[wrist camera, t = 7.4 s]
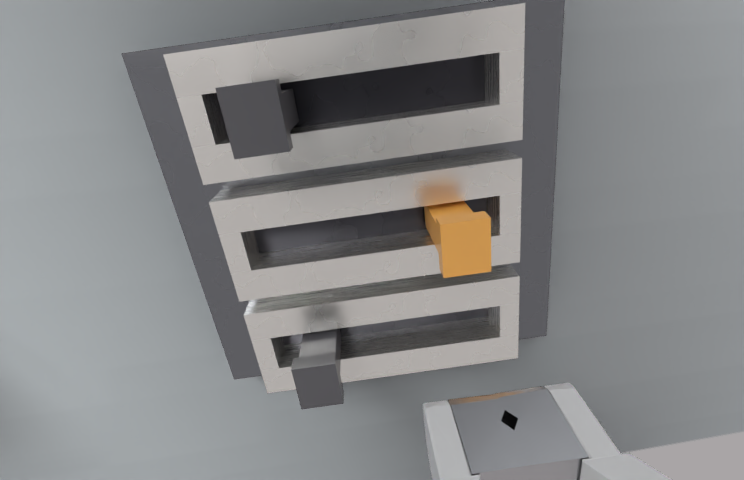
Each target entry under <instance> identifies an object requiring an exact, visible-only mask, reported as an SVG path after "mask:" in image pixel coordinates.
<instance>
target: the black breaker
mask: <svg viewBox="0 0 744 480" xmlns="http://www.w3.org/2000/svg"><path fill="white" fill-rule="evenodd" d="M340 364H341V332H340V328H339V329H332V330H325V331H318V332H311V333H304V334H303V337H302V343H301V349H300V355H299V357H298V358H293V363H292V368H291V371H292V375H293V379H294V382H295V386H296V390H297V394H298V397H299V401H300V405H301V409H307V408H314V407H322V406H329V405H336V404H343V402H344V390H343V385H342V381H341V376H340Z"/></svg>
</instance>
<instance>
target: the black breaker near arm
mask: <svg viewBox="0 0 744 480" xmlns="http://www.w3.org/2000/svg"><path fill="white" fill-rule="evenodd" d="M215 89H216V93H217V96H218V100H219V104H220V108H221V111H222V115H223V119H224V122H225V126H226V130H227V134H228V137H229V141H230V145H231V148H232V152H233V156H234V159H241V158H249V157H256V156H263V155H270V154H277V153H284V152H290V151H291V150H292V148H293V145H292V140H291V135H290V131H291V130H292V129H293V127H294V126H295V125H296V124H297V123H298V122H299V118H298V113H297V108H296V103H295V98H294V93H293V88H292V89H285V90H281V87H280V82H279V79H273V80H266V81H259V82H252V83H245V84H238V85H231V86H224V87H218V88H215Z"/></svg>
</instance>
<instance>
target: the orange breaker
mask: <svg viewBox="0 0 744 480" xmlns="http://www.w3.org/2000/svg"><path fill="white" fill-rule="evenodd" d="M424 213H425V225H426V228H427V230H428V232H429V234H430V236H431V239H432V241H433V243H434V245H435V247H436V249H437V251H438V254H439V268H440V271H441V274H442V276H443V278H449V277H456V276H463V275H471V274H478V273H485V272H491V217H490V216H489V215H488V214H487V213H486V212H485V211H480V212H473V211H472V210H471V209H470V208H469V206H468V205H467V204H466V203H465V202H464V201H458V202H451V203H444V204H437V205H430V206H424Z"/></svg>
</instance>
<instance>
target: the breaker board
mask: <svg viewBox="0 0 744 480" xmlns="http://www.w3.org/2000/svg"><path fill="white" fill-rule="evenodd" d="M563 18H564V0H494V1H487V2H480V3H473V4H466V5H459V6H452V7H445V8H438V9H431V10H424V11H417V12H410V13H403V14H396V15H389V16H382V17H375V18H368V19H361V20H354V21H347V22H340V23H333V24H326V25H319V26H312V27H305V28H298V29H291V30H284V31H277V32H270V33H263V34H256V35H249V36H242V37H235V38H228V39H221V40H214V41H207V42H200V43H193V44H185V45H178V46H171V47H164V48H157V49H150V50H143V51H136V52H129V53H122V57H123V59H124V62H125V65H126V68H127V71H128V74H129V77H130V80H131V83H132V85H133V88H134V91H135V94H136V97H137V100H138V103H139V106H140V109H141V111H142V114H143V117H144V120H145V123H146V126H147V129H148V132H149V135H150V137H151V140H152V143H153V146H154V149H155V152H156V155H157V158H158V161H159V163H160V166H161V169H162V172H163V175H164V178H165V181H166V184H167V187H168V189H169V192H170V195H171V198H172V201H173V204H174V207H175V210H176V213H177V215H178V218H179V221H180V224H181V227H182V230H183V233H184V236H185V239H186V242H187V244H188V247H189V250H190V253H191V256H192V259H193V262H194V265H195V268H196V270H197V273H198V276H199V279H200V282H201V285H202V288H203V291H204V294H205V296H206V299H207V302H208V305H209V308H210V311H211V314H212V317H213V320H214V322H215V325H216V328H217V331H218V334H219V337H220V340H221V343H222V346H223V348H224V351H225V354H226V357H227V360H228V363H229V366H230V369H231V372H232V374H233V377H234V379H240V378H247V377H255V376H262V377H263V380H264V383H265V387H266V390H267V393H273V392H280V391H288V390H295V389H296V386H295V382H294V379H293V375H292V371H291V368H292V363H293V358H298V357H299V355H300V349H301V343H302V337H303V334H304V333H311V332H318V331H325V330H332V329H339V328H340V332H341V364H340V376H341V381H342V383H345V382H352V381H359V380H366V379H373V378H380V377H387V376H394V375H402V374H409V373H416V372H423V371H430V370H437V369H444V368H451V367H458V366H466V365H473V364H480V363H487V362H494V361H501V360H508V359H515V358H518V339H525V338H532V337H539V336H546V331H547V312H548V294H549V276H550V257H551V239H552V221H553V202H554V184H555V165H556V147H557V129H558V110H559V92H560V74H561V55H562V37H563ZM273 79H279V82H280V87H281V90H285V89H292V88H293V93H294V98H295V103H296V108H297V113H298V118H299V122H298V123H297V124H296V125H295V126H294V127H293V129H292V130H291V131H290V135H291V140H292V145H293V148H292V150H291V151H290V152H284V153H277V154H270V155H263V156H256V157H249V158H241V159H234V156H233V152H232V148H231V145H230V141H229V137H228V134H227V130H226V126H225V122H224V119H223V115H222V111H221V108H220V104H219V100H218V96H217V93H216V89H215V88H218V87H224V86H231V85H238V84H245V83H252V82H259V81H266V80H273ZM458 201H464V202H465V203H466V204H467V205H468V206H469V208H470V209H471V210H472V211H473V212H480V211H485V212H486V213H487V214H488V215H489V216H490V217H491V272H485V273H478V274H471V275H463V276H456V277H449V278H443V276H442V274H441V271H440V268H439V254H438V251H437V249H436V247H435V245H434V243H433V241H432V239H431V236H430V234H429V232H428V230H427V228H426V225H425V213H424V206H430V205H437V204H444V203H451V202H458Z"/></svg>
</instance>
